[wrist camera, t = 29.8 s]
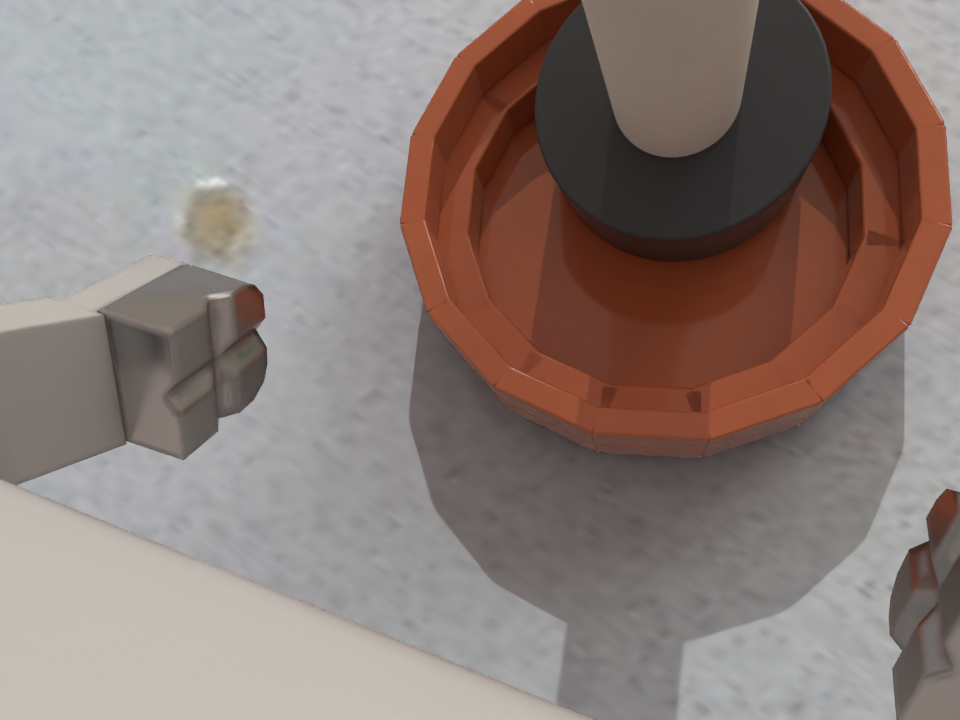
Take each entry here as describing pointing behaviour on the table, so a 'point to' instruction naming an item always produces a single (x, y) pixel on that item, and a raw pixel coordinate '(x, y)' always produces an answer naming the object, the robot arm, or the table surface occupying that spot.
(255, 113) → the table surface
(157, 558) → the robot arm
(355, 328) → the table surface
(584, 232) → the dish
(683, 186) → the brush
